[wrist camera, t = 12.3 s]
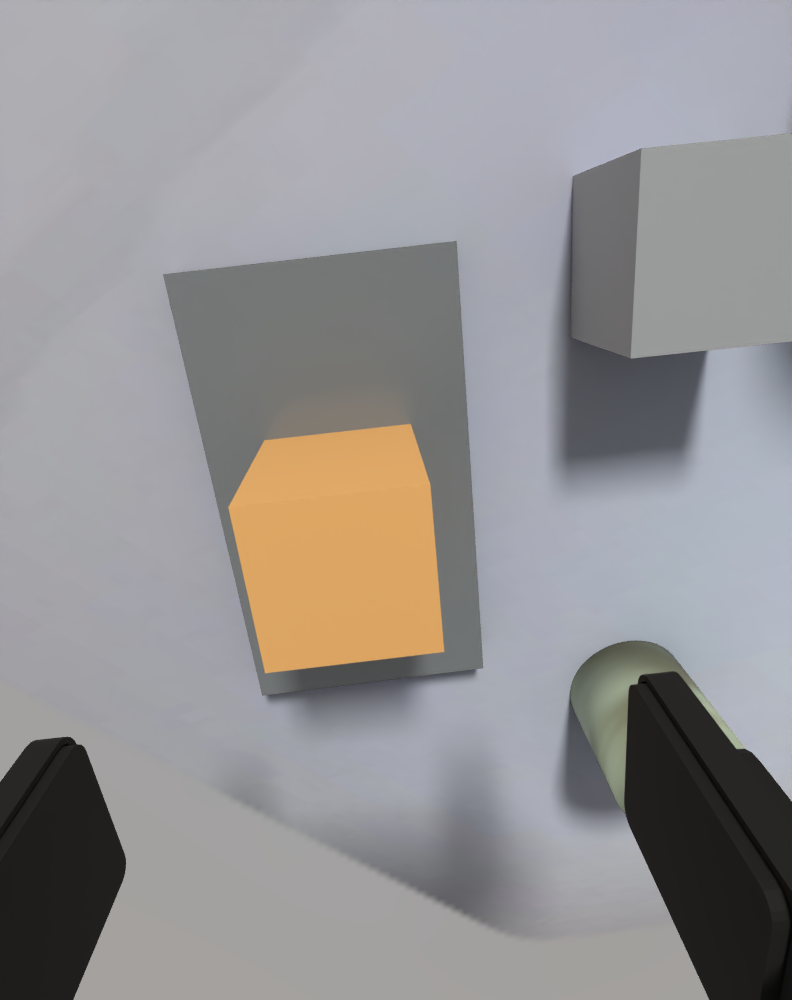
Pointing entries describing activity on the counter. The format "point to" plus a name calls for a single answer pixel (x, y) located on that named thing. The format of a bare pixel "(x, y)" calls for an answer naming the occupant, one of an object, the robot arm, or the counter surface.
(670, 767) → the robot arm
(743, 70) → the counter surface
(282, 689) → the slate board
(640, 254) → the grey block
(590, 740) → the sage cylinder
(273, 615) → the orange block
